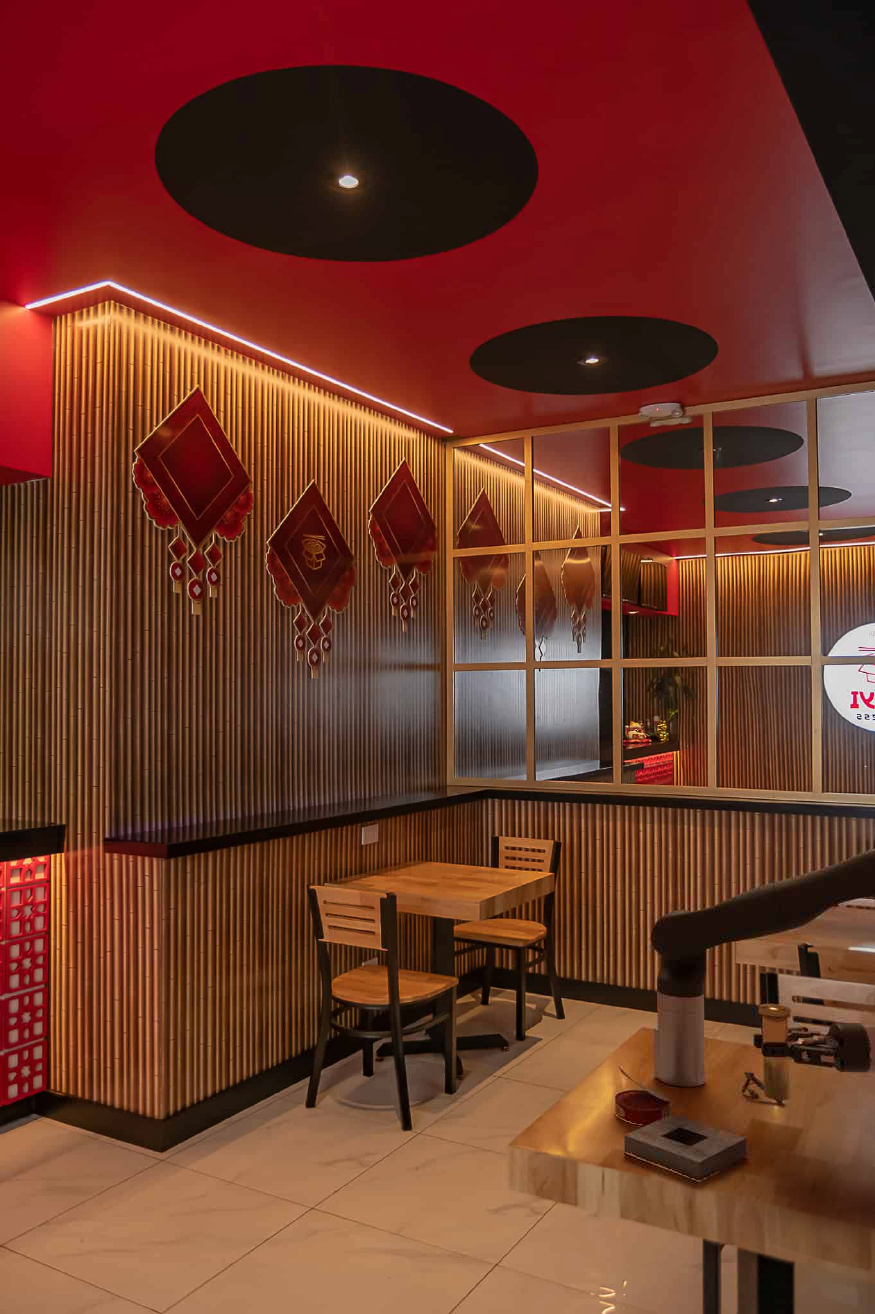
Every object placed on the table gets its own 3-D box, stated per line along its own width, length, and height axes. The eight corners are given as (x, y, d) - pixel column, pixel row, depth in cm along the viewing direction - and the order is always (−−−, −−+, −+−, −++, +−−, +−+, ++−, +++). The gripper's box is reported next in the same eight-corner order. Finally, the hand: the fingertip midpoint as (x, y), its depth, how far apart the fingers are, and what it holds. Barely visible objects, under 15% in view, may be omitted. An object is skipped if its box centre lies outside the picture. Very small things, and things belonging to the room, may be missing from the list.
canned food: (623, 1133, 178) (624, 1076, 183) (677, 1137, 174) (676, 1078, 179) (604, 1121, 170) (606, 1062, 175) (660, 1125, 165) (660, 1064, 171)
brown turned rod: (739, 1087, 187) (748, 1067, 186) (776, 1114, 182) (785, 1094, 181) (735, 1089, 186) (744, 1069, 185) (772, 1116, 180) (781, 1096, 180)
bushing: (755, 1095, 157) (753, 1007, 158) (770, 1088, 160) (768, 1002, 162) (783, 1103, 153) (781, 1013, 155) (798, 1096, 157) (796, 1008, 158)
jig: (624, 1154, 157) (624, 1135, 157) (672, 1132, 166) (672, 1114, 167) (699, 1182, 147) (699, 1162, 147) (746, 1157, 156) (745, 1138, 157)
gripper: (847, 1012, 164) (745, 1010, 165) (881, 1037, 150) (770, 1034, 151) (848, 1057, 164) (746, 1054, 165) (882, 1086, 150) (771, 1083, 150)
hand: (758, 1045), depth 158 cm, fingers closed on bushing, 4 cm apart
